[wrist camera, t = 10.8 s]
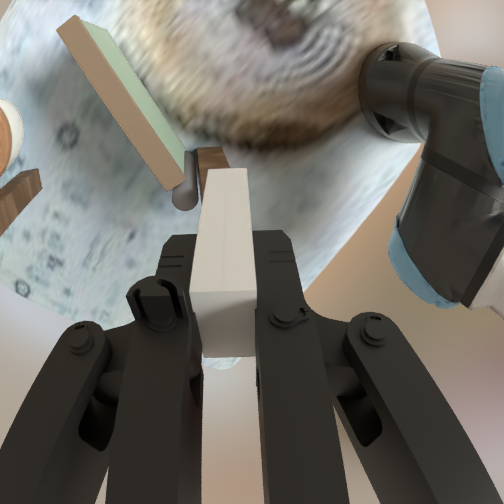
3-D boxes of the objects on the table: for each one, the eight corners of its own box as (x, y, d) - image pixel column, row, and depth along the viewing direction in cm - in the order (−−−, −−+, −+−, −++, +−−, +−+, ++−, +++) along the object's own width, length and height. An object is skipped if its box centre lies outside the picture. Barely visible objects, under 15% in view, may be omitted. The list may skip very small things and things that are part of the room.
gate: (198, 163, 38) (203, 202, 28) (182, 173, 38) (181, 215, 28) (109, 27, 26) (76, 13, 16) (92, 39, 26) (53, 31, 16)
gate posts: (221, 146, 38) (241, 196, 25) (221, 168, 39) (241, 229, 26) (20, 171, 33) (-42, 230, 20) (25, 191, 34) (-32, 255, 21)
